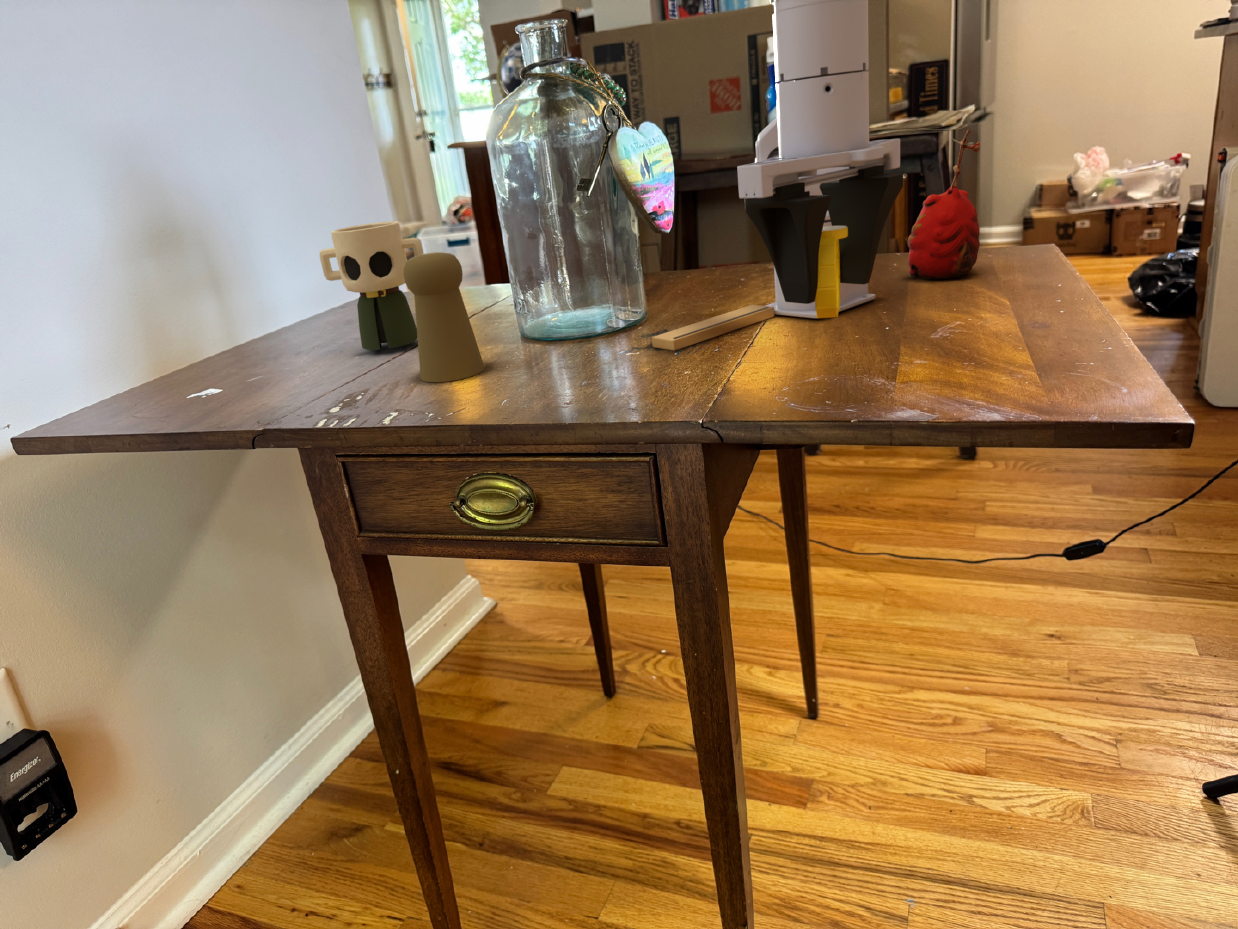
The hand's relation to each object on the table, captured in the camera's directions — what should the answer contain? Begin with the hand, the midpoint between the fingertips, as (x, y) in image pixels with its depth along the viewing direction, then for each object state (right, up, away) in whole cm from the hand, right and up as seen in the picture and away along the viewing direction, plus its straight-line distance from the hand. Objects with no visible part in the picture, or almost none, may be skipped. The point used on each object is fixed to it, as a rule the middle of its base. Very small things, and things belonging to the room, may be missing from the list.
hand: (827, 292), depth 58 cm
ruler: (-5, +1, +24) cm, 24 cm away
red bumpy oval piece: (+22, +9, +35) cm, 42 cm away
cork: (-30, -3, +21) cm, 37 cm away
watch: (0, -2, +1) cm, 2 cm away
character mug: (-39, +1, +35) cm, 52 cm away
